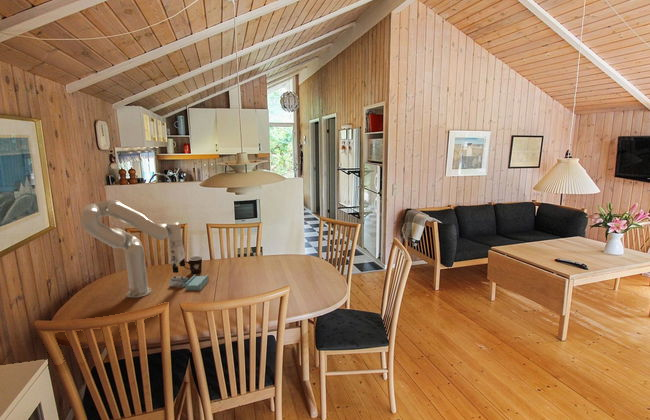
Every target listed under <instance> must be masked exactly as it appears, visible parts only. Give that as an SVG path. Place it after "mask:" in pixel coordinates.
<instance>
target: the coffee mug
mask: <svg viewBox="0 0 650 420" xmlns="http://www.w3.org/2000/svg"><path fill="white" fill-rule="evenodd" d="M186 263H187V264H188V265H189V268H188V267H186V265H185V266H183V268H185V269H188V270H190V272H191V274H192V275H200V274H201V273H202V267H203V266H202V265H203V257H202V256H201V255H200V256H199V255H197V256H191V257H188V261H185V264H186Z"/></svg>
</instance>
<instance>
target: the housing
mask: <svg viewBox="0 0 650 420" xmlns="http://www.w3.org/2000/svg"><path fill="white" fill-rule="evenodd" d="M168 281H169V287H172V288H179V289H180V288H182V289H183V288H186V285H185V284H186V283H187V282H188V281H189V278H188V276H181V275H174V276H173V277H171V278H170V279H169V280H168Z"/></svg>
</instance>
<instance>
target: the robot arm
mask: <svg viewBox="0 0 650 420" xmlns="http://www.w3.org/2000/svg"><path fill="white" fill-rule="evenodd" d="M108 216H110V217H112V218H114V219H116V220H118V221H120V222H123V223H125V224H127V225H129V226H131V227H133V228H134V229H136V230H138V231H140V232H142V233H144V234H146V235H148V236H149V237H152V238H154V239H156V240H160V241H161V240H166V238H167V239H168V246H169V254H170V266H171V269H172V273H173V274H174V273H175V274H177V273H179V267H184V266H185V267H186V263H185V262H186V261H185V259H186V253H185V248H184V247H185V246H184V244H183V238H182V229H181V223H180V222H177V221H173V222H168V223H155V222H153V221H152V220H151V219H149V218H147V217H146V216H145V215H144V214H143V213H141V212H139V211H138V210H135V209H133V208H132V207H129V206H127V205H125V204H123V202H122V201H120V200H118V199H110V200H105V201H104V200H103V201H99V202H94V203H93V202H92V203H88V204H86V205H85V206H84V207H83V208H82V211H81V215H80V225H81V227H82V229H83V231H84V232H85V233H87V234H88V235H90V236H91V237H93V238H95V239H96V240H98V241H100V242H102V243H104V244H105V245H107V246H109V247H110V248H112V249H122V250H123V251H124V257H125V258H124V259H125V264H126V271H127V280H128V285H129V286H128V287H129V291H128V292H127V293H126V295H125V297H126V298H131V299H138V298H142V297H145V296H148V295H150V294H151V293H152V288H151V287H149V285H148V277H147V276H148V275H147V269H146V267H147V266H146V259H145V248H144V244H143V243H142V241H141V240H140V239H139V238H137V237H136V236H134V235H133V234H131V233H129V232H128V231H125V230H123V229H121V228H119V227H113V228H112V227H110V226H109V225H107V224H106V223H103V222H101V219H100V218H104V217H108ZM178 264H179V266H178Z"/></svg>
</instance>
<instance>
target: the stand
mask: <svg viewBox="0 0 650 420" xmlns="http://www.w3.org/2000/svg"><path fill="white" fill-rule="evenodd" d="M192 275H193V276H191V277H190V278H189V279H188V282H187V283H186V284H185V285H186V286H185V290H186V291H202V290H203V288H204V287H205V286H206V285H207V284H208V283H209V280H210V279H209V274H206V275H197V274H192Z"/></svg>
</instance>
